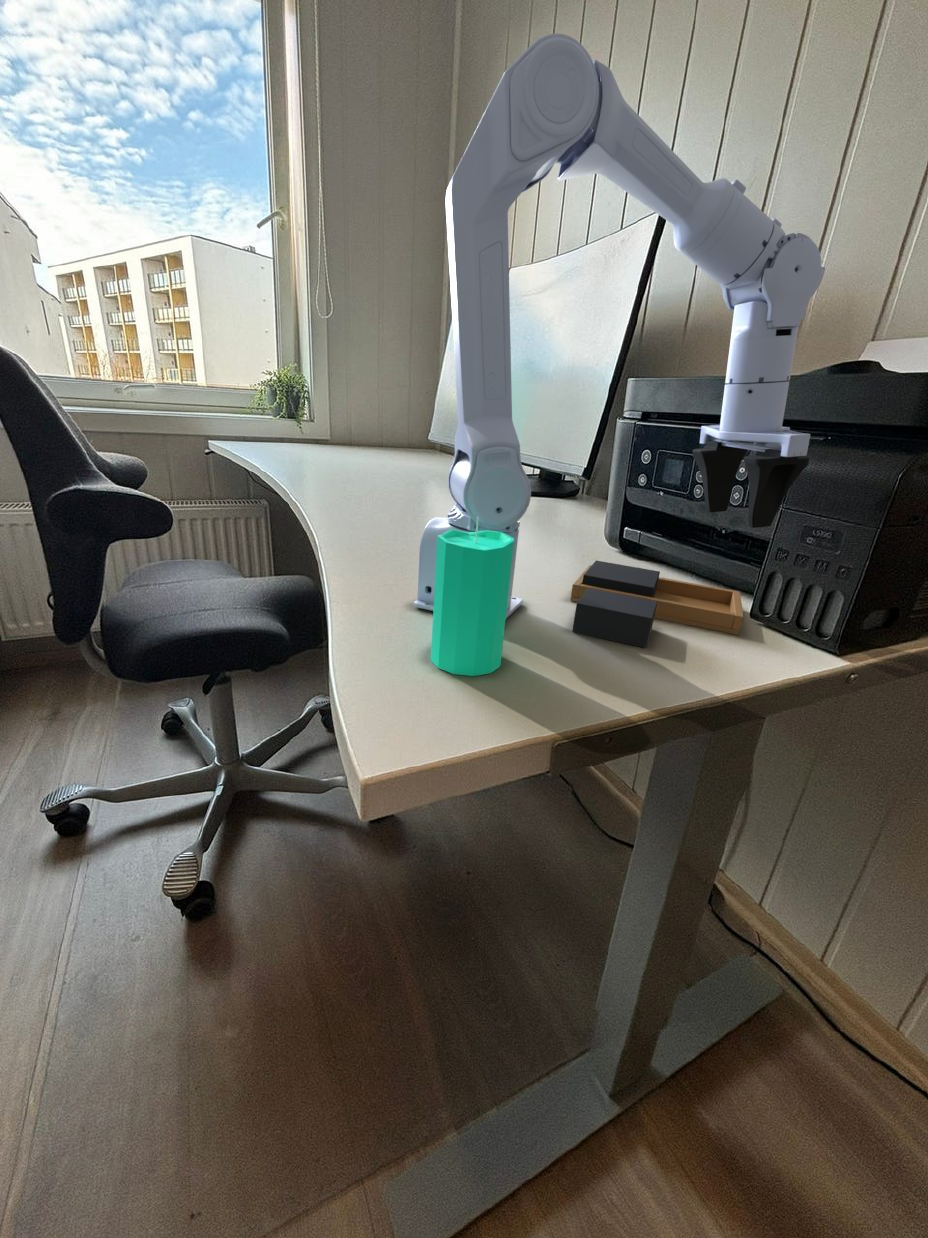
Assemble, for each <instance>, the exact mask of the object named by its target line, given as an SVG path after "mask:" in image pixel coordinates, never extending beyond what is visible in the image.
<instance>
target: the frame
mask: <svg viewBox="0 0 928 1238" xmlns="http://www.w3.org/2000/svg"><path fill="white" fill-rule="evenodd" d="M592 565H593V564H589V565H588V566H587V568H585V570H584V571H583V572H582V573H581V574H580V576H579V577H578V578H577V579H576V580H575V581H574V582H573V584H572V587H571V593H570V599H569V601H570V602H574V603H577V602H578V601H579V600H580V598H581V597H582V596H583V594H584V593H585V592H586V590H587V589H588V588H592V589H597V590H602V591H607V592H613V593H618V594H623V595H628V596H633V597H639V598H644V599H649V600H654V601H657V607H656V611H655V616H654V619H658V620H663V621H668V622H673V623H678V624H681V625H682V624H683V625H688V626H692V627H697V628H702V629H708V630H711V631H712V630H713V631H718V632H722V633H727V634H731V635H732V634H733V635H737V636H739V635H740V632H741V628H742V625H743V621H744V618H745V617H744V611H743V609H744V608H743V603H742V597H741V592H740V591H738V590H735V589H734V590H733V589H728V588H723V587H717V586H713V585H712V586H711V585H705V584H699V583H694V582H690V581H683V580H677V579H673V578H666V577H660V576H659V579H658V584H657V588H656V592H655V595H654V598H653V597H647V596H642V595H637V594H632V593H626V592H621V591H616V590H611V589H605V588H600V587H595V586H590V585H584V584H582V582H583V575H584V574H585V573H586V572H587V570H588V569H589V568H590V567H591V566H592Z"/></svg>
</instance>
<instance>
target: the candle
mask: <svg viewBox="0 0 928 1238" xmlns="http://www.w3.org/2000/svg"><path fill="white" fill-rule="evenodd" d="M478 520H479V517H477V521H476V532H469V533H467V532H462V531H457V530H452V529H451V530H449V531H447V532H445V533H443V534H441V535H439V536H438V538H437V556H436V574H435V592H434V610H433V611H432V614H433V615H432V633H431V647H430V648H431V650H430V661H431V663H433V664H434V665H435V666H436V668H438V669H439V670H442V671H444V672H448V673H450V674H453V675H460V676H471V677H475V676H482V675H488V674H492V673H493V672H495V671H496V670H498V669H499V668H501V667H502V666H501V665H502V657H503V655H502V654H503V646H504V637H505V636H504V635H505V627H506V621H507V618H506V610H507V601H508V592H509V583H510V574H511V564H512V555H513V546H514V538H512V537H511V536H509V535H507V534H505V533H502V532H496V531H489V530H485V531H478Z"/></svg>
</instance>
